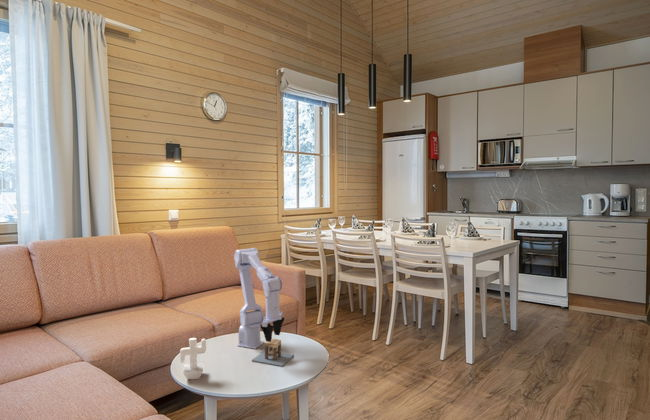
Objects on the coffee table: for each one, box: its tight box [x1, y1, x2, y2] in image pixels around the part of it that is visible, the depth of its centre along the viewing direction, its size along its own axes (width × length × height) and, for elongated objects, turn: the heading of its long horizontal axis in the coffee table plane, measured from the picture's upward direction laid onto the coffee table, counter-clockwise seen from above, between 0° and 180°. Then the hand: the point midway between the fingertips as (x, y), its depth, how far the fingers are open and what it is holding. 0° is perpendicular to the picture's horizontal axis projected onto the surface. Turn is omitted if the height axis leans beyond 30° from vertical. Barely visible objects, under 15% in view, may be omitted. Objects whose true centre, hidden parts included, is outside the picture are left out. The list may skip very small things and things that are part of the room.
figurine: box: [179, 337, 207, 380], centre depth 160 cm, size 7×9×15 cm
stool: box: [264, 338, 282, 361], centre depth 176 cm, size 5×5×7 cm
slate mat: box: [251, 349, 295, 368], centre depth 176 cm, size 14×11×1 cm
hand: (272, 337), depth 175 cm, fingers open, 7 cm apart
